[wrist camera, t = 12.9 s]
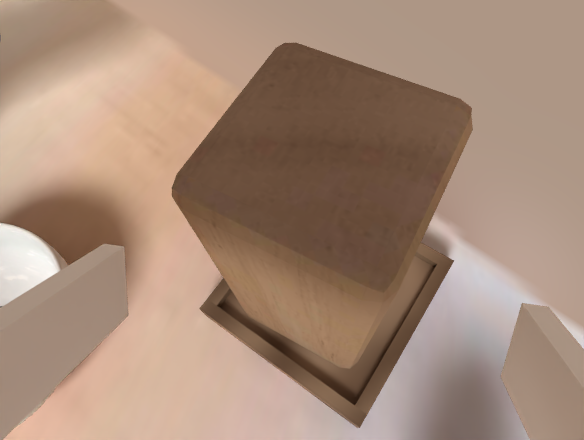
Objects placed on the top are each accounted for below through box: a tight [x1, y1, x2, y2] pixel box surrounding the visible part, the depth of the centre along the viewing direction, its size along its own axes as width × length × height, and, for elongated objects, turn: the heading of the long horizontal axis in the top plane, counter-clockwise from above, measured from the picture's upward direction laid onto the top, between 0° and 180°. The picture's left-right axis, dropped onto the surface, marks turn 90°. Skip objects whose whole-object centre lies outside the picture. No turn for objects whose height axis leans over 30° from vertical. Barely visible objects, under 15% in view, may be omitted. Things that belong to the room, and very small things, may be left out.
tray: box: [200, 243, 454, 428], centre depth 35 cm, size 15×15×2 cm
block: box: [172, 43, 473, 369], centre depth 26 cm, size 10×10×20 cm
